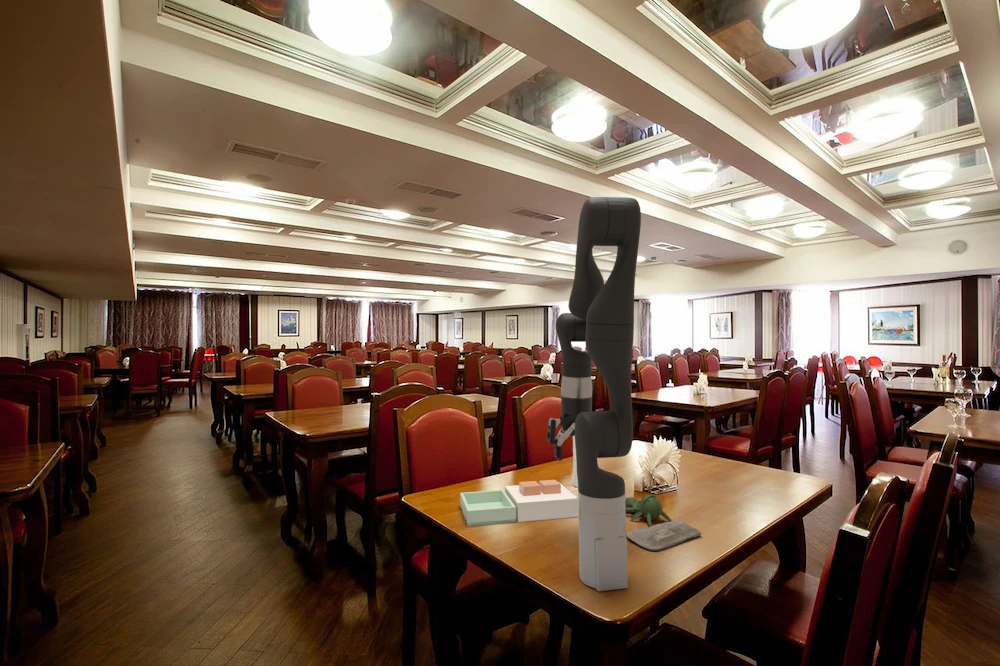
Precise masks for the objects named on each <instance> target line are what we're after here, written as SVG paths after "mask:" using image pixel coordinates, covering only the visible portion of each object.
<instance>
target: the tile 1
mask: <svg viewBox="0 0 1000 666" xmlns="http://www.w3.org/2000/svg"><path fill="white" fill-rule="evenodd" d="M518 485H519V491H520V492H521V494H522V495H523V496H531V495H541V486H540V485H539V482H537V481H536V480H532V481H531V480H529V481H519V482H518Z"/></svg>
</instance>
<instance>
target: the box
mask: <svg viewBox="0 0 1000 666" xmlns="http://www.w3.org/2000/svg"><path fill="white" fill-rule="evenodd" d="M459 497H460V500H459V504H460V505H459V507H460V509H462V510H461V512H462V515H463V517H464V520H466V521H465V522H466V526H467V527H468V526H469V527H477V526H488V525H489V526H490V525H500V524H501V525H502V524H512V523H517V520H516V506H515V505H514V504H513V502H512V501H511V499H510V498H509V497H508V495H507V494H506V493H505V489H496V490H495V489H494V490H493V489H492V490H481V491H469V492H466V491H465V492H460V494H459Z"/></svg>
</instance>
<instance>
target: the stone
mask: <svg viewBox="0 0 1000 666" xmlns="http://www.w3.org/2000/svg"><path fill="white" fill-rule="evenodd" d="M701 535H702V531H700V530H698V529H697V528H695V527H693V526H691V525H690V524H687V523H685V522H684V521H682V520H681V519H680V520H679V519H677V520H676V519H675V520H672V521H670V522H669V521H666V522H663V523H657V524H655V525H652V526H651V527H649V526H648V527H642V528H639V529H634V530H628V531H626V538H628V539H630V540H631V541H632V542H634V543H635V544H637V545H638V546H641V547H642V548H645V549H646V550H650V551H653V552H655V551H661V550H664V549H667V548H669V547H673V546H675V545H678V544H681V543H683V542H685V541H687V540H689V539H692V538H697V537H699V536H701Z"/></svg>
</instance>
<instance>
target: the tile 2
mask: <svg viewBox="0 0 1000 666" xmlns="http://www.w3.org/2000/svg"><path fill="white" fill-rule="evenodd" d="M538 484H539V485H540V486H541V492H542V493H543V494H557V493H561V482H559V481H557V479H545V480H543V479H541V480H538Z"/></svg>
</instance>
